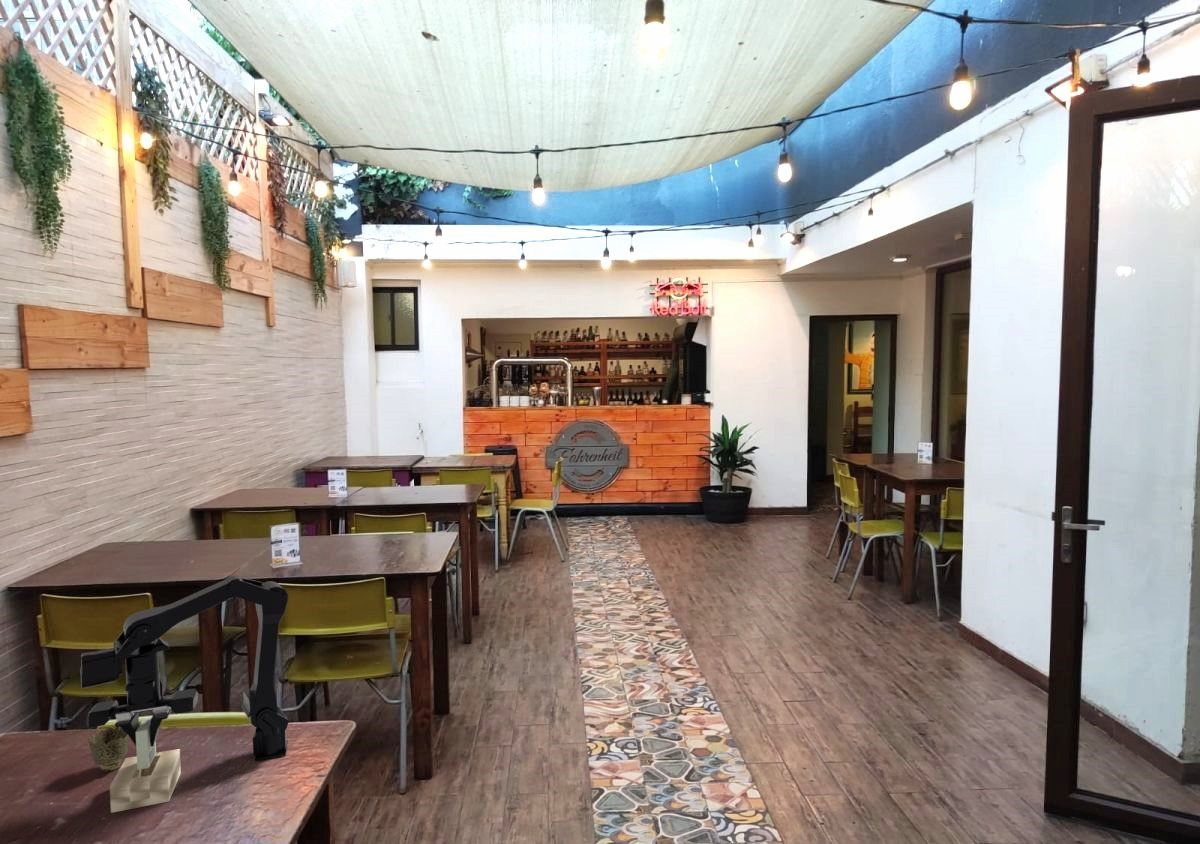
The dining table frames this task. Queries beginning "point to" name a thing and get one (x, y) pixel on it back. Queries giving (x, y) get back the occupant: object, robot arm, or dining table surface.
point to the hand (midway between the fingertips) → (146, 746)
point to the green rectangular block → (144, 745)
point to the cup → (109, 747)
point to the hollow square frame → (145, 782)
